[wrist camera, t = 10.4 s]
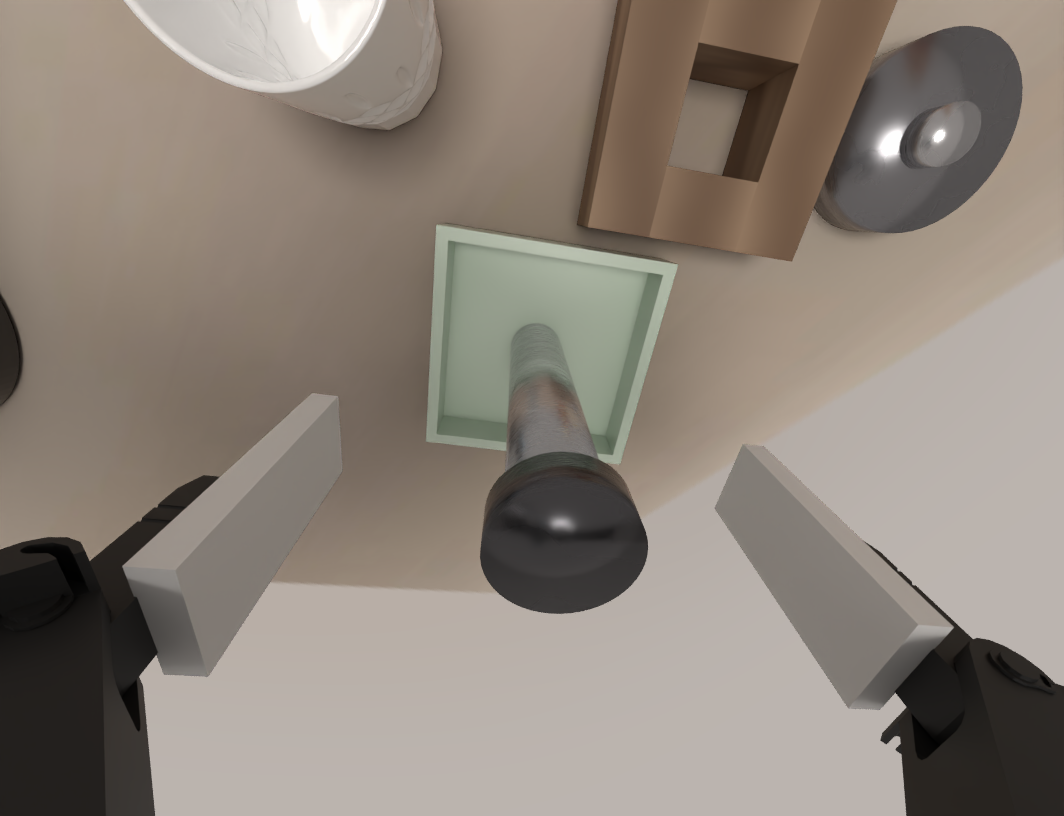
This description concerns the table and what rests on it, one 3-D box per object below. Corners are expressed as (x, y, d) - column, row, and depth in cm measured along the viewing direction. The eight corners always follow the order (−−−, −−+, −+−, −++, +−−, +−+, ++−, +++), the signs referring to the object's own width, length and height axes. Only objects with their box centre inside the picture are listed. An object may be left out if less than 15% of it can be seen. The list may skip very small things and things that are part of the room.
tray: (435, 418, 27) (425, 441, 24) (446, 223, 22) (436, 224, 19) (610, 440, 28) (619, 464, 26) (659, 258, 23) (678, 264, 20)
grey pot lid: (780, 218, 22) (824, 219, 19) (851, 30, 19) (919, -7, 16) (913, 241, 23) (977, 246, 20) (1003, 64, 20) (1099, 36, 16)
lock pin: (498, 374, 25) (472, 607, 10) (506, 310, 24) (489, 479, 9) (562, 382, 26) (624, 619, 11) (574, 320, 24) (669, 497, 9)
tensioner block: (577, 224, 22) (587, 226, 19) (621, -21, 18) (646, -79, 14) (749, 253, 23) (791, 261, 20) (831, 26, 19) (904, -18, 15)
